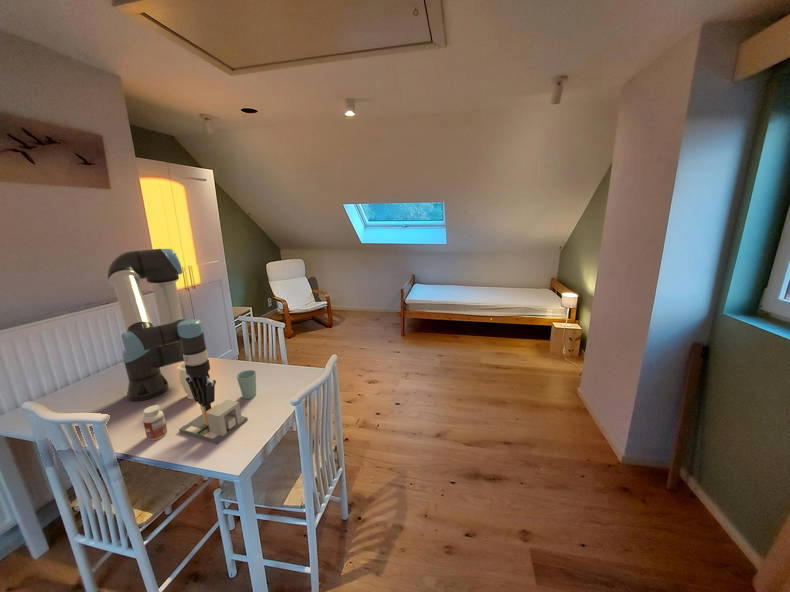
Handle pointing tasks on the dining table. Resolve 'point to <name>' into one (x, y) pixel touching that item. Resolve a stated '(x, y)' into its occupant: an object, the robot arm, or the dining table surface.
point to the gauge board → (202, 424)
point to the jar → (183, 380)
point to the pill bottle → (154, 423)
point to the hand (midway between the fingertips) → (208, 418)
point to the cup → (247, 383)
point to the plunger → (229, 420)
